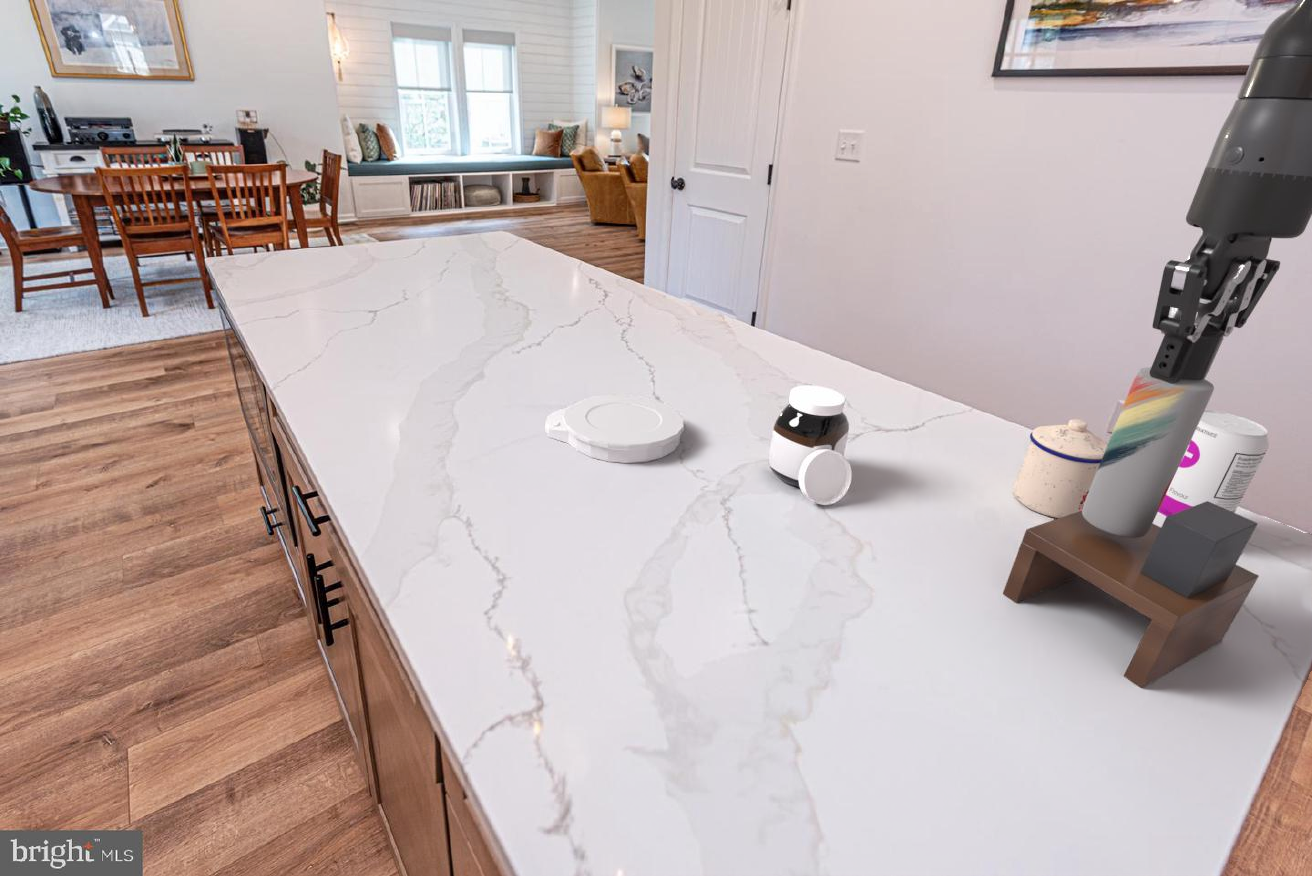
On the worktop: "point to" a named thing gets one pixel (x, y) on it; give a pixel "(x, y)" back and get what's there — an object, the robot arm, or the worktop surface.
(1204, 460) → the supplement can
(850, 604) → the worktop surface
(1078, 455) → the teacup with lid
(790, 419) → the spread jar
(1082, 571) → the riser
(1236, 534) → the charcoal block
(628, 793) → the worktop surface
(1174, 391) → the lotion bottle
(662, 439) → the lid
